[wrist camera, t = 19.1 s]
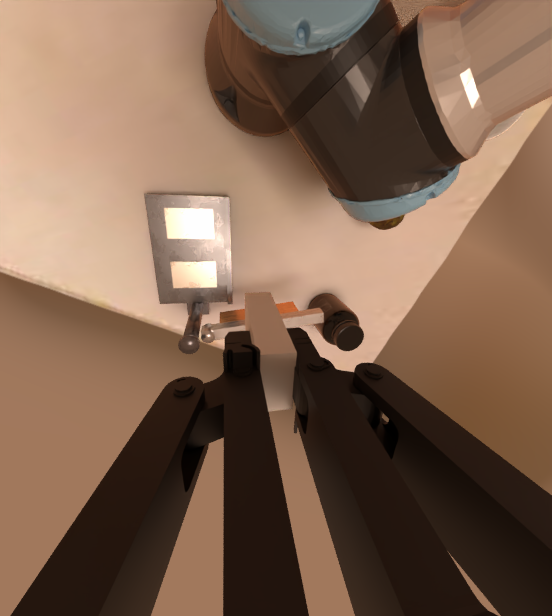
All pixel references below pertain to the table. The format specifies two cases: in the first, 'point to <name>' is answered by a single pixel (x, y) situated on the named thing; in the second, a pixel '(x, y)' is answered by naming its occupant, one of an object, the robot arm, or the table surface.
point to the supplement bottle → (338, 323)
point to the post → (193, 327)
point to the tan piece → (237, 321)
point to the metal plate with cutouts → (191, 247)
